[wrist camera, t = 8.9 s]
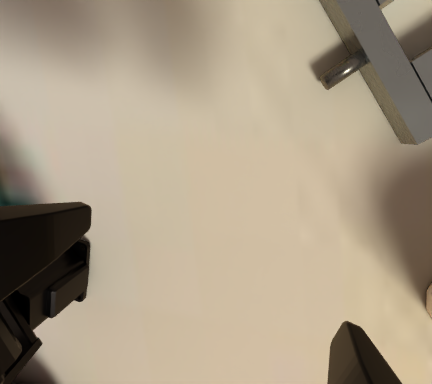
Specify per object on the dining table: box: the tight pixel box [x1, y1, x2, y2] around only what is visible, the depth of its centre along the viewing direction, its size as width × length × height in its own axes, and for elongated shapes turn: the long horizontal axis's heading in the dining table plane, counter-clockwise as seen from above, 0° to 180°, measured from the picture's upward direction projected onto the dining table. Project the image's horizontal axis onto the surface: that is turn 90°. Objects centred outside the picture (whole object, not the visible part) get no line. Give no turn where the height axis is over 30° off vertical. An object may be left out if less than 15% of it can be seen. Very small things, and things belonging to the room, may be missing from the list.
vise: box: [320, 0, 432, 145], centre depth 14 cm, size 10×12×2 cm
